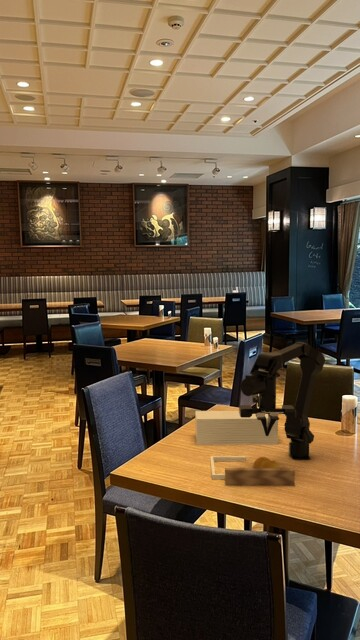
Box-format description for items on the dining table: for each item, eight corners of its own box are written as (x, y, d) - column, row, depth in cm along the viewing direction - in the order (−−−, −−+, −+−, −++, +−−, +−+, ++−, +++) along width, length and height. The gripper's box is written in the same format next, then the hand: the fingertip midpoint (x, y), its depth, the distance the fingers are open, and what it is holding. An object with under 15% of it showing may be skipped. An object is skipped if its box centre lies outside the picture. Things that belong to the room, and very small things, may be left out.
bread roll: (269, 477, 159) (269, 466, 159) (249, 469, 166) (249, 458, 166) (285, 470, 165) (285, 459, 164) (264, 463, 171) (264, 452, 171)
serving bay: (246, 460, 173) (246, 456, 173) (251, 479, 158) (251, 475, 157) (210, 460, 174) (210, 456, 174) (212, 479, 158) (212, 474, 158)
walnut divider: (293, 483, 155) (293, 468, 154) (294, 485, 153) (294, 470, 152) (224, 482, 155) (224, 468, 155) (225, 485, 154) (225, 470, 153)
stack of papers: (196, 445, 189) (196, 419, 188) (195, 436, 200) (195, 411, 198) (277, 444, 189) (278, 418, 188) (272, 435, 200) (272, 410, 199)
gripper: (290, 385, 170) (289, 428, 172) (237, 385, 171) (237, 427, 172) (297, 393, 159) (296, 439, 161) (240, 393, 160) (240, 438, 161)
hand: (266, 435), depth 164 cm, fingers closed
